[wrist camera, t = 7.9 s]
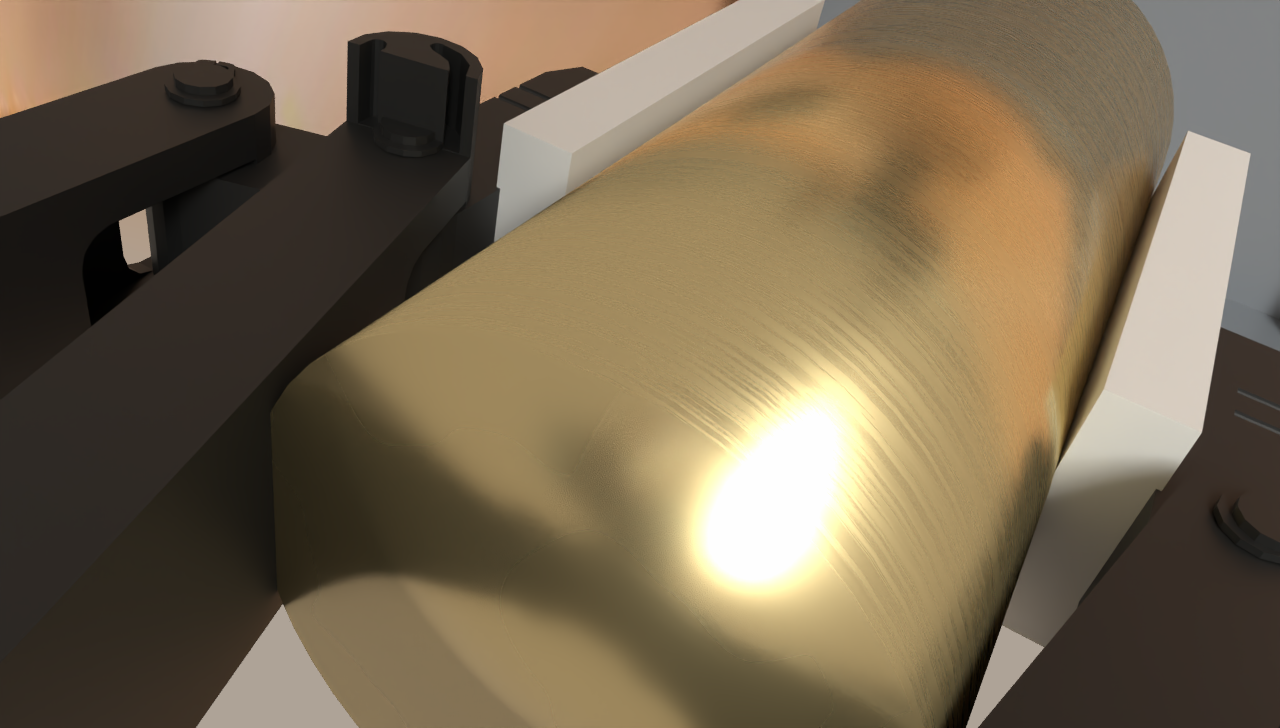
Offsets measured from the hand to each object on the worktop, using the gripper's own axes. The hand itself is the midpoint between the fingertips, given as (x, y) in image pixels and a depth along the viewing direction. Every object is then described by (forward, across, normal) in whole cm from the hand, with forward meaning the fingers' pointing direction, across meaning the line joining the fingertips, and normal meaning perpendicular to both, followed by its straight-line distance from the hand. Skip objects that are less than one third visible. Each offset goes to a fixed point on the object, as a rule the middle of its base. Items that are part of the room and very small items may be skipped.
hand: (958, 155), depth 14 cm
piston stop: (+2, 0, 0) cm, 2 cm away
